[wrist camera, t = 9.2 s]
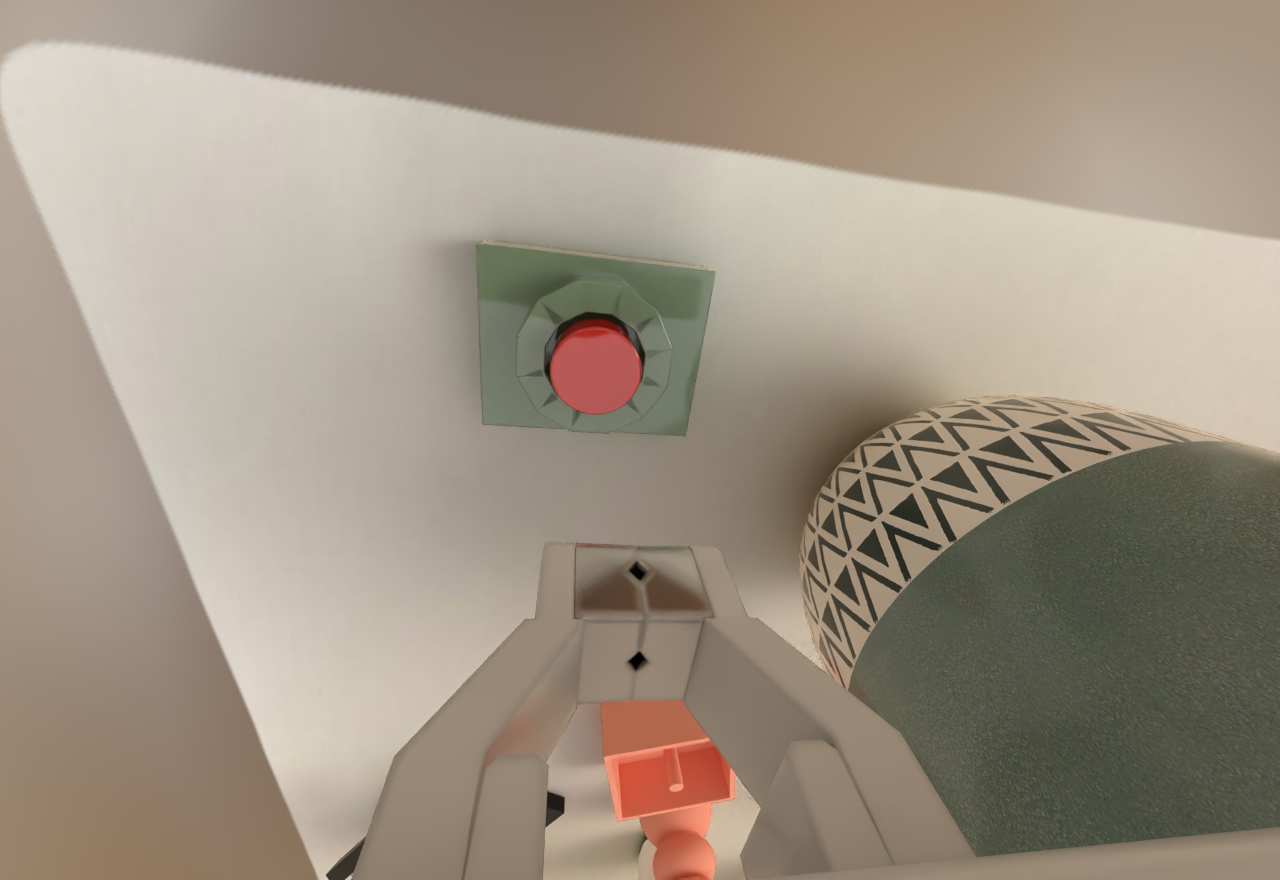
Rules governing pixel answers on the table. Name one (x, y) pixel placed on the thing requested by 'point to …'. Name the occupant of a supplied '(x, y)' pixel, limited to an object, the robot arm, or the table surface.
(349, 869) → the lever
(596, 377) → the button
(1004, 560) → the planter
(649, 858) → the cup
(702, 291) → the control block
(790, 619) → the table surface
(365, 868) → the robot arm
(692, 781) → the pottery
